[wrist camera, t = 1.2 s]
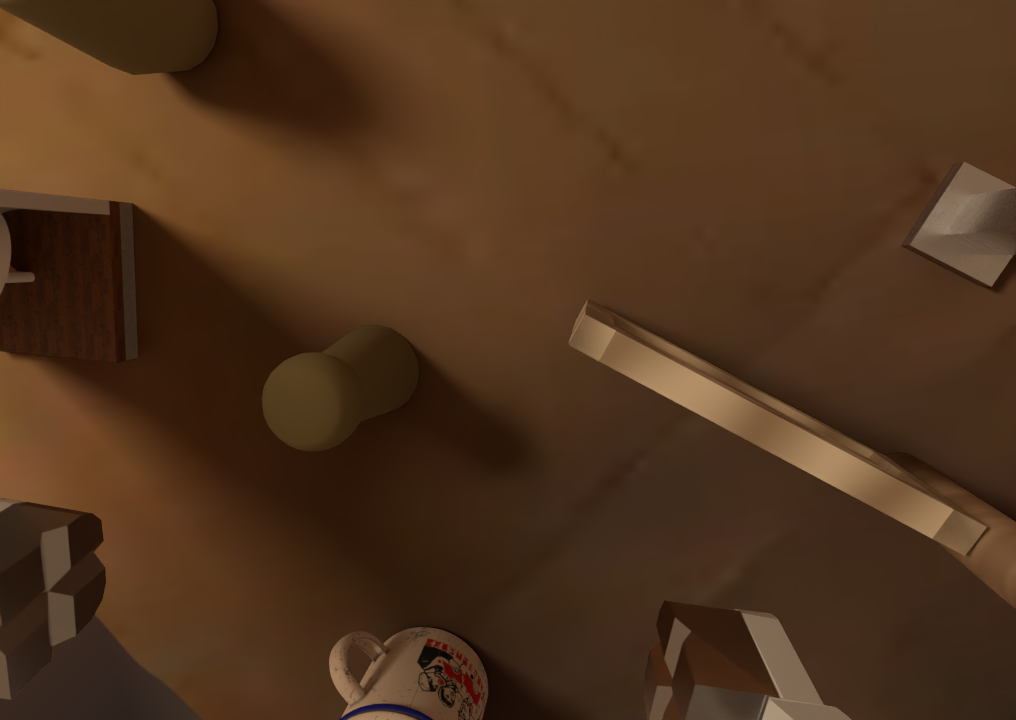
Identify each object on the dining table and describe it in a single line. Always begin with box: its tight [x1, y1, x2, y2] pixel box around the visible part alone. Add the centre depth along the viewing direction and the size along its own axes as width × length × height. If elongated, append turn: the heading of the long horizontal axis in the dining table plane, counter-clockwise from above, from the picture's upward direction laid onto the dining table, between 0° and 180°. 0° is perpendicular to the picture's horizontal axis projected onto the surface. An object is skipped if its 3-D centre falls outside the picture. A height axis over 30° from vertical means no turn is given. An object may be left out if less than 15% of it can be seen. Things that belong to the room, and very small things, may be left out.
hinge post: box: [886, 453, 1016, 609], centre depth 32 cm, size 3×3×13 cm
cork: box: [262, 325, 419, 451], centre depth 36 cm, size 6×6×11 cm
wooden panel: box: [568, 299, 987, 556], centre depth 33 cm, size 20×2×10 cm, turn 63°
